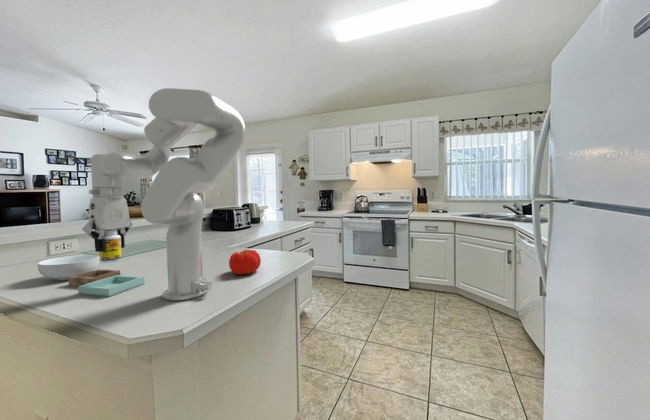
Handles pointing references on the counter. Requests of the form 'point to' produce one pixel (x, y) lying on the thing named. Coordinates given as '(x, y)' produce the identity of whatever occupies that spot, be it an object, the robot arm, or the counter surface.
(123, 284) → the tray
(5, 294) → the counter surface
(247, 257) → the tomato
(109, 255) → the supplement bottle
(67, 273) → the cereal bowl
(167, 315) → the counter surface
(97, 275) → the socket block
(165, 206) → the robot arm
